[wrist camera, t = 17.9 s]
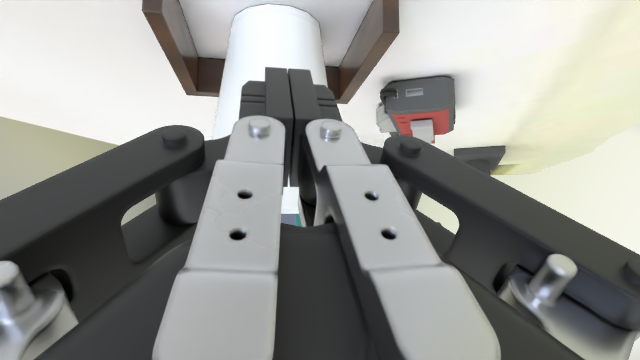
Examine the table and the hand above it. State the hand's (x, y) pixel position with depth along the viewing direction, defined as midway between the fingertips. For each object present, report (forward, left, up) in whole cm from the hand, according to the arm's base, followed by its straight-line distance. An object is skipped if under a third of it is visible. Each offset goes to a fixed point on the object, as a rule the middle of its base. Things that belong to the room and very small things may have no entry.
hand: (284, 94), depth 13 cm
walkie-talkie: (+1, -33, -10) cm, 35 cm away
